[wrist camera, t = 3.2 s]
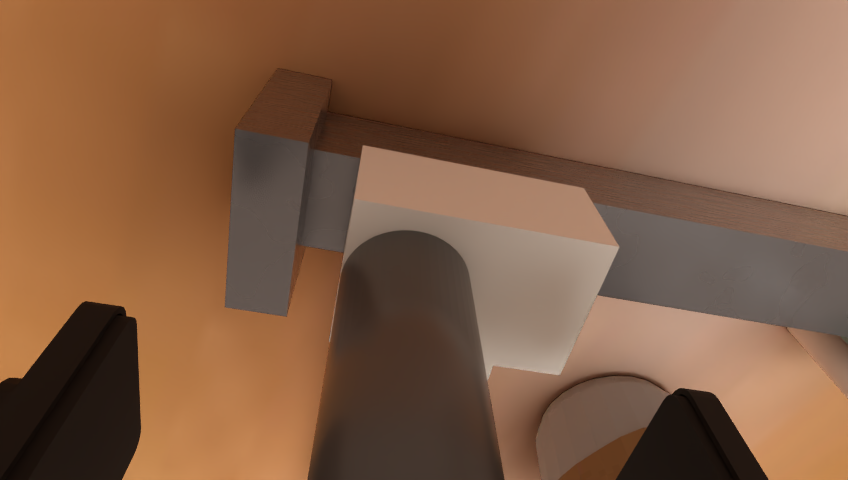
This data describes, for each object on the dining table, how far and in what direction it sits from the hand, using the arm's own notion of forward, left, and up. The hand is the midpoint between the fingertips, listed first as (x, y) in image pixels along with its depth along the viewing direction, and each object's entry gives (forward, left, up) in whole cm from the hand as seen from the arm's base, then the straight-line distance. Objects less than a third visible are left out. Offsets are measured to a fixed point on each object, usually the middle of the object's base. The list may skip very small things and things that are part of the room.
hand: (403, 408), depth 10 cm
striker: (+7, +2, -8) cm, 10 cm away
